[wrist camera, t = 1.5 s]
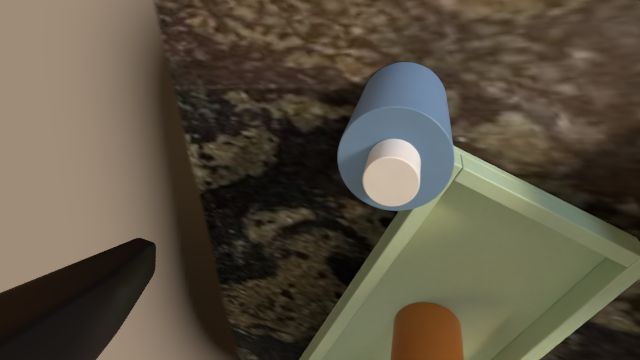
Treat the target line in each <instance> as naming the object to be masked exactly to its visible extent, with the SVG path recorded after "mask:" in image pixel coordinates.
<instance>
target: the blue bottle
mask: <svg viewBox="0 0 640 360" xmlns="http://www.w3.org/2000/svg"><path fill="white" fill-rule="evenodd" d="M337 162H338V168H339V171H340V174H341V177H342V179H343V181H344V182H345V184H346V186H347V187H348V188H349V189H350V191H351V192H352V193H353V194H354V195H355V196H356V197H358V198H359V199H360V200H362V201H364V202H365V203H367V204H369V205H371V206H374V207H376V208H380V209H384V210H390V211H404V210H411V209H414V208H418V207H420V206H423V205H425V204H427V203H429V202H430V201H432V200H433V199H435V198H436V197H437V196H438V195H439V194H440V193H441V192H442V191H443V190H444V189H445V187H446V186H447V184H448V183H449V181H450V178H451V176H452V173H453V169H454V162H455V158H454V148H453V141H452V133H451V126H450V119H449V112H448V104H447V97H446V92H445V89H444V86H443V84H442V82H441V81H440V79H439V78H438V77H437V76H436V75H435V74H434V73H433V72H432V71H431V70H430V69H428V68H426V67H424V66H422V65H420V64H416V63H410V62H400V63H394V64H391V65H388V66H386V67H384V68H382V69H381V70H379V71H378V72H377V73H375V74H374V75H373V76H372V78H371V79H370V80H369V81H368V83H367V85H366V87H365V89H364V91H363V93H362V95H361V97H360V99H359V102H358V104H357V106H356V108H355V110H354V112H353V114H352V116H351V119H350V121H349V123H348V125H347V127H346V129H345V131H344V133H343V136H342V138H341V140H340V143H339V147H338V153H337Z"/></svg>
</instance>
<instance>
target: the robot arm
mask: <svg viewBox="0 0 640 360" xmlns="http://www.w3.org/2000/svg"><path fill="white" fill-rule="evenodd" d="M155 258H156V247H155V244H154V243H153V242H150V241H148V240H145V239H142V238H136V239H133V240H131V241H129V242H126V243H123V244H121V245H119V246H116V247H113V248H111V249H109V250H106V251H104V252H101V253H99V254H96V255H94V256H91V257H89V258H86V259H84V260H81V261H79V262H77V263H74V264H71V265H69V266H66V267H64V268H61V269H59V270H56V271H54V272H51V273H49V274H46V275H44V276H41V277H39V278H36V279H34V280H31V281H29V282H26V283H24V284H22V285H19V286H16V287H14V288H12V289H9V290H6V291H4V292H1V293H0V360H96V359H97V358H98V356H99V355H100V354H101V352H102V351H103V350H104V348H105V347H106V346H107V345H108V344H109V342H110V341H111V340H112V338H113V337H114V336H115V334H116V333H117V332H118V330H119V329H120V327H121V326H122V324H123V322H124V321H125V319H126V318H127V316H128V315H129V313H130V311H131V310H132V308H133V307H134V305H135V303H136V302H137V300H138V299H139V297H140V295H141V294H142V292H143V291H144V289H145V287H146V286H147V284H148V283H149V281H150V279H151V278H152V276H153V274H154V271H155V261H156V260H155Z"/></svg>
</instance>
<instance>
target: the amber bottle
mask: <svg viewBox="0 0 640 360" xmlns="http://www.w3.org/2000/svg"><path fill="white" fill-rule="evenodd" d="M391 360H464V353H463V342H462V331H461V324H460V322H459V320H458V318H457V317H456V315H455V314H454V313H453V312H452V311H450V310H449V309H447V308H445V307H443V306H441V305H438V304H435V303H429V302H418V303H413V304H409V305H407V306H405V307H403V308H402V309H401V310H400V311H399V312H398V313H397V314H396V316H395V319H394V326H393V337H392V349H391Z"/></svg>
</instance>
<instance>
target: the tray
mask: <svg viewBox="0 0 640 360" xmlns="http://www.w3.org/2000/svg"><path fill="white" fill-rule="evenodd" d="M453 148H454V158H455V162H454V169H453V173H452V176H451V178H450V181H449V183H448V184H447V186H446V187H445V189H444V190H443V191H442V192H441V193H440V194H439V195H438V196H437V197H436V198H435V199H433V200H432V201H430V202H429V203H427V204H425V205H423V206H420V207H418V208H414V209H411V210H404V211H399V212H398V213H397V214H396V216H395V217H394V219H393V220H392V222H391V223H390V225H389V226H388V228H387V229H386V231H385V232H384V234H383V235H382V237H381V238H380V240H379V241H378V243H377V244H376V246H375V247H374V249H373V250H372V252H371V253H370V255H369V256H368V258H367V259H366V261H365V262H364V264H363V265H362V267H361V268H360V270H359V271H358V273H357V274H356V276H355V277H354V279H353V280H352V282H351V283H350V284H349V286H348V287H347V289H346V290H345V292H344V293H343V295H342V296H341V298H340V299H339V301H338V302H337V304H336V305H335V307H334V308H333V310H332V311H331V313H330V314H329V316H328V317H327V319H326V320H325V322H324V323H323V325H322V326H321V328H320V329H319V331H318V332H317V334H316V335H315V337H314V338H313V340H312V341H311V343H310V344H309V346H308V347H307V349H306V350H305V352H304V353H303V354H302V356H301V357H300V359H299V360H391V349H392V337H393V326H394V319H395V316H396V314H397V313H398V312H399V311H400V310H401V309H402V308H403V307H405V306H407V305H409V304H413V303H418V302H429V303H435V304H438V305H441V306H443V307H445V308H447V309H449V310H450V311H452V312H453V313H454V314H455V315H456V317H457V318H458V320H459V322H460V324H461V331H462V342H463V353H464V360H539V359H541V358H542V357H543V356H544V355H545V354H547V353H548V352H549V351H550V350H552V349H553V348H554V347H555V346H557V345H558V344H559V343H560V342H561V341H563V340H564V339H565V338H566V337H568V336H569V335H570V334H571V333H573V332H574V331H575V330H576V329H577V328H579V327H580V326H581V325H582V324H584V323H585V322H586V321H587V320H589V319H590V318H591V317H592V316H594V315H595V314H596V313H597V312H598V311H600V310H601V309H602V308H603V307H605V306H606V305H607V304H608V303H610V302H611V301H612V300H613V299H614V298H616V297H617V296H618V295H619V294H621V293H622V292H623V291H624V290H626V289H627V288H628V287H629V286H631V285H632V284H633V283H634V282H635V281H637V280H638V279H639V278H640V242H639V240H638V239H637V238H636V237H634V236H632V235H630V234H628V233H626V232H624V231H622V230H620V229H618V228H616V227H614V226H612V225H610V224H608V223H606V222H604V221H603V220H601V219H599V218H597V217H595V216H593V215H591V214H589V213H587V212H585V211H583V210H581V209H579V208H577V207H575V206H573V205H571V204H569V203H567V202H565V201H563V200H561V199H559V198H557V197H555V196H553V195H551V194H549V193H547V192H545V191H543V190H541V189H539V188H537V187H535V186H533V185H531V184H529V183H527V182H525V181H523V180H521V179H519V178H517V177H515V176H513V175H511V174H509V173H507V172H505V171H503V170H501V169H499V168H497V167H495V166H493V165H491V164H489V163H487V162H485V161H483V160H481V159H479V158H477V157H475V156H473V155H471V154H469V153H467V152H465V151H463V150H461V149H459V148H457V147H455V146H453Z"/></svg>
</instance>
